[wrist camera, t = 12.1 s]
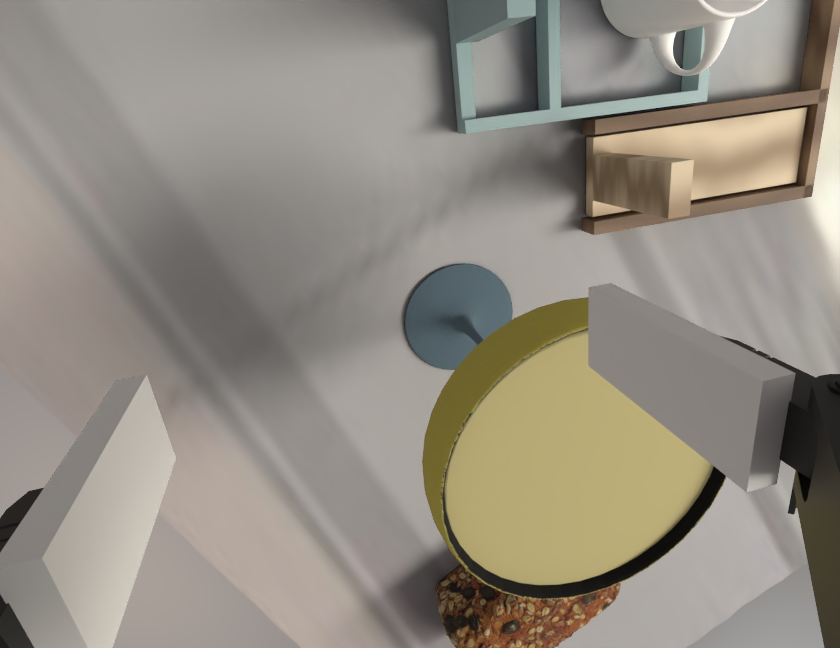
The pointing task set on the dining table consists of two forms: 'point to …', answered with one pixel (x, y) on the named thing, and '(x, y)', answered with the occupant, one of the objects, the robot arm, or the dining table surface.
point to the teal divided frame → (546, 65)
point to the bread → (511, 614)
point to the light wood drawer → (691, 162)
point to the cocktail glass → (543, 447)
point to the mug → (678, 24)
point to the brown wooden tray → (831, 8)
